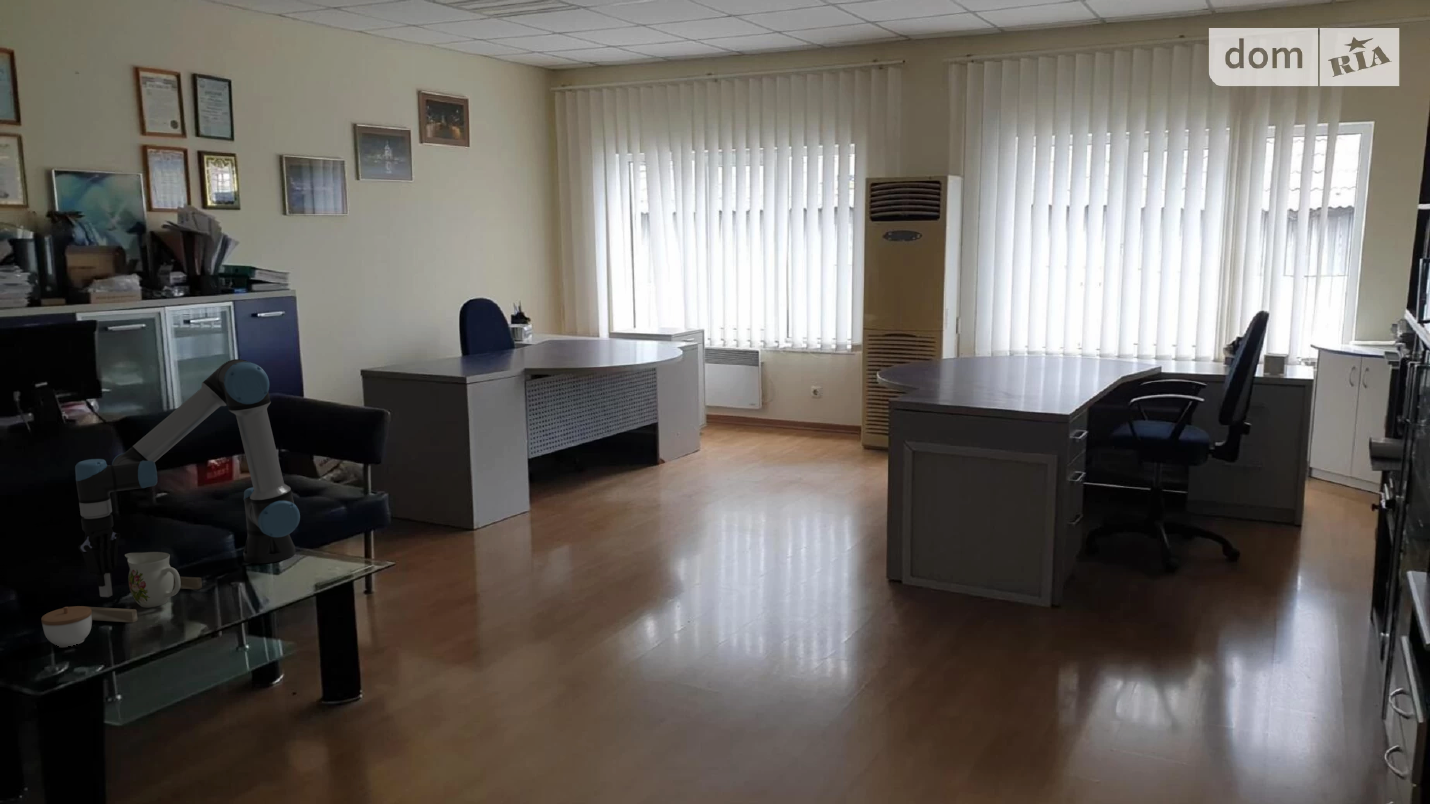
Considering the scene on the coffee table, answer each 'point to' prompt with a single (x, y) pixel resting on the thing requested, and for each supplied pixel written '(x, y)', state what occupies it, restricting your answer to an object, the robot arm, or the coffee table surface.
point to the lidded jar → (67, 625)
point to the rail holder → (131, 614)
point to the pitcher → (152, 578)
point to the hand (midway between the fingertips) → (106, 595)
